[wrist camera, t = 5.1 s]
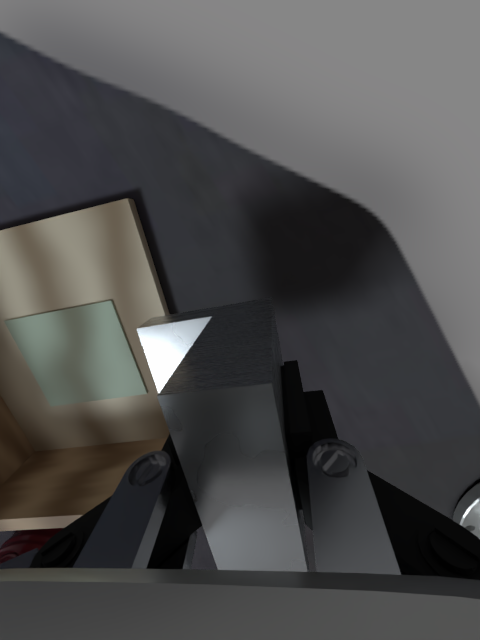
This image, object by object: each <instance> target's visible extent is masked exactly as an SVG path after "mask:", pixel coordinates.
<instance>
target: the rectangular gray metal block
mask: <svg viewBox="0 0 480 640" xmlns="http://www.w3.org/2000/svg"><path fill="white" fill-rule="evenodd" d="M137 332H138V335H139V338H140V341H141V343H142V346H143V349H144V352H145V355H146V358H147V361H148V364H149V366H150V369H151V372H152V375H153V378H154V381H155V384H156V386H157V389H158V392H159V394H158V395H157V398H158V401H159V404H160V406H161V409H162V412H163V415H164V418H165V421H166V423H167V426H168V429H169V432H170V435H171V438H172V440H173V443H174V446H175V449H176V452H177V455H178V457H179V460H180V463H181V466H182V469H183V472H184V474H185V477H186V480H187V483H188V486H189V489H190V491H191V494H192V497H193V500H194V503H195V506H196V508H197V511H198V514H199V517H200V520H201V523H202V525H203V528H204V531H205V534H206V537H207V540H208V543H209V545H210V548H211V551H212V554H213V557H214V560H215V562H216V565H217V568H218V570H251V571H294V572H310V571H309V562H308V553H307V544H306V535H305V526H304V517H303V510H299V507H298V502H297V496H296V491H295V485H294V480H293V475H292V469H291V464H290V458H289V453H288V447H287V442H286V435H285V426H284V411H283V395H282V380H281V366H283V360H282V354H281V349H280V343H279V337H278V331H277V325H276V319H275V313H274V307H273V302H272V297H271V298H265V299H259V300H253V301H248V302H242V303H236V304H230V305H224V306H218V307H212V308H206V309H200V310H194V311H188V312H182V313H177V314H171V315H165V316H159V317H153V318H150V319H149V320H148V321H146V322H145V323H143V324H142V325H141V326H139V327H138V328H137Z"/></svg>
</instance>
